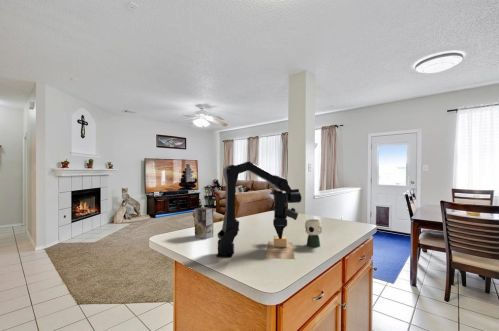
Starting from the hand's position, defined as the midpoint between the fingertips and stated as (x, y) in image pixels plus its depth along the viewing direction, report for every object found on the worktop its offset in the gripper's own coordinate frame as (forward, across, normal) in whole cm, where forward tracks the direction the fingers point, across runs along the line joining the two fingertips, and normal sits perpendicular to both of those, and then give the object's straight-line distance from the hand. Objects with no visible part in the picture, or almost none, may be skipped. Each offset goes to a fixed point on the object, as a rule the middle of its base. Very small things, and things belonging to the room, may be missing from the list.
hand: (280, 236), depth 109 cm
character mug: (+6, +3, -16) cm, 17 cm away
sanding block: (+5, 0, 0) cm, 5 cm away
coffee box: (+6, +14, +43) cm, 46 cm away
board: (+6, -5, 0) cm, 8 cm away
